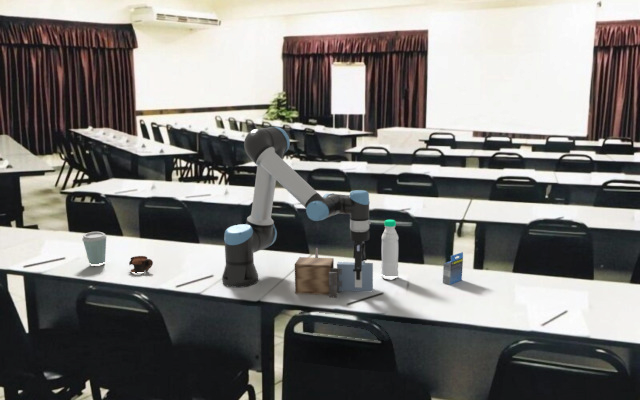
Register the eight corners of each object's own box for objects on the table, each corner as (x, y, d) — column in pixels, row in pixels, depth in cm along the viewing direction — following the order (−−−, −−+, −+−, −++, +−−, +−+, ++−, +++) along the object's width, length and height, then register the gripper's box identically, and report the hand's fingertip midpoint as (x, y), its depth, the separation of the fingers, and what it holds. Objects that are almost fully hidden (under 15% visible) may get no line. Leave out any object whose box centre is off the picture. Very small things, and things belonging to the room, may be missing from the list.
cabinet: (293, 296, 240) (293, 266, 237) (300, 285, 252) (299, 257, 250) (336, 297, 237) (336, 267, 235) (341, 286, 249) (340, 258, 247)
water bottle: (400, 276, 262) (400, 219, 257) (395, 281, 255) (395, 222, 251) (384, 274, 265) (384, 218, 260) (379, 279, 258) (379, 221, 254)
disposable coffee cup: (113, 263, 287) (111, 232, 285) (94, 269, 278) (91, 237, 276) (99, 260, 293) (96, 230, 290) (79, 266, 284) (76, 234, 281)
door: (337, 290, 245) (336, 264, 243) (338, 288, 248) (337, 262, 246) (372, 292, 243) (372, 265, 241) (372, 289, 246) (372, 263, 244)
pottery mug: (124, 275, 271) (124, 257, 273) (137, 279, 279) (136, 261, 282) (147, 270, 267) (147, 252, 270) (160, 274, 276) (159, 256, 279)
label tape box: (454, 278, 258) (455, 250, 256) (462, 280, 256) (463, 251, 253) (442, 283, 252) (442, 254, 250) (450, 285, 249) (451, 256, 247)
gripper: (366, 237, 228) (366, 292, 232) (371, 223, 252) (372, 272, 256) (346, 237, 229) (347, 291, 233) (353, 222, 253) (354, 272, 257)
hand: (360, 281), depth 245 cm, fingers open, 13 cm apart
